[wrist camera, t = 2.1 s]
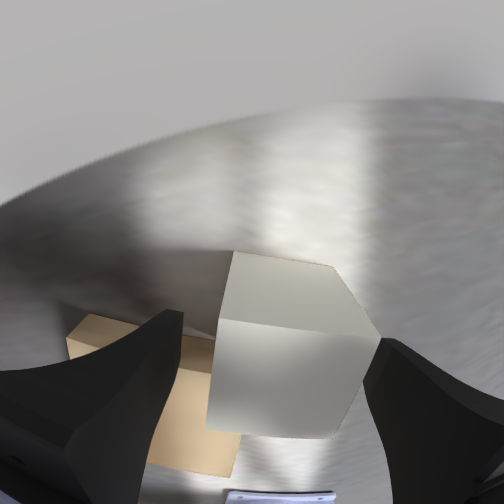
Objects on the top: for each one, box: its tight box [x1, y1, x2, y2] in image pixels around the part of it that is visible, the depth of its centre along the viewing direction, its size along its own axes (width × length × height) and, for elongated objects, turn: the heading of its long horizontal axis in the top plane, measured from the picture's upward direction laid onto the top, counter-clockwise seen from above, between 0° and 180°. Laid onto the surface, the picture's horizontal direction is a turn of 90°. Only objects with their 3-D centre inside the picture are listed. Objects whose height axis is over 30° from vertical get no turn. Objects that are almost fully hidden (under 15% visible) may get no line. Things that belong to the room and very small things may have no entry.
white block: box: [205, 251, 381, 439], centre depth 11 cm, size 4×4×6 cm
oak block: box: [66, 313, 242, 478], centre depth 15 cm, size 9×9×3 cm
